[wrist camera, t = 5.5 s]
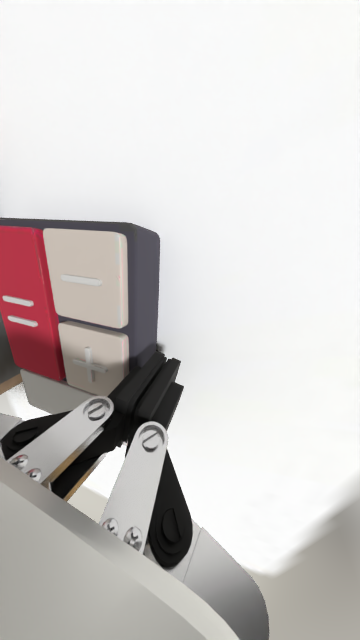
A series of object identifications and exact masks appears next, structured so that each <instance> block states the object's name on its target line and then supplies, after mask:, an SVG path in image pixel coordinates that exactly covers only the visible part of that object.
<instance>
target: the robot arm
mask: <svg viewBox="0 0 360 640" xmlns="http://www.w3.org/2000/svg"><path fill="white" fill-rule="evenodd" d="M164 356H165V354H163V353H160V352H158V351H156V352H155V353H154V354H153V355H152V356H151V358H150V359H149V360H148V361H147V362H146V363H145V365H144V366H143V367H142V368H141V367H139V366H135V367H134V368H133V369H132V370H131V372H130V373H129V374H128V375H127V376H126V377H125V378H124V379H123V380H122V381H121V382H120V383H119V384H118V386H117V387H116V388H115V389H114V390H113V391H112V392H111V393H110V394H109V395H108V396H107V397H106V396H95V397H92V398H90V399H88V400H86V401H85V402H84V403H82V404H81V405H80V406H78V407H77V408H76V409H74V410H71V411H67V412H62V413H58V414H53V415H49V416H44V417H40V418H35V419H31V420H27V421H22V418H19V417H14V416H10V415H6V414H2V413H0V640H269V617H268V612H267V608H266V604H265V600H264V598H263V596H262V593H261V591H260V589H259V587H258V585H257V584H256V583H255V581H254V580H253V579H252V577H251V576H250V575H249V574H248V573H247V572H246V571H245V570H244V569H243V568H242V567H241V566H240V565H239V564H238V563H237V562H236V561H235V560H234V559H233V558H232V557H231V556H230V555H229V554H228V553H227V551H226V550H225V549H224V548H223V547H222V546H221V545H220V544H219V543H218V542H217V541H216V540H215V539H214V538H213V537H212V536H211V535H210V534H209V533H208V532H207V531H206V530H205V529H204V528H203V527H202V528H200V527H199V526H198V525H197V524H196V523H195V522H194V521H193V520H192V519H191V515H190V512H189V509H188V507H187V504H186V501H185V498H184V495H183V493H182V490H181V487H180V484H179V481H178V479H177V476H176V473H175V470H174V467H173V464H172V462H171V459H170V456H169V453H168V450H167V445H168V434H167V429H168V427H169V424H170V422H171V419H172V417H173V415H174V412H175V410H176V407H177V405H178V402H179V400H180V397H181V394H182V391H183V388H184V386H182V385H179V384H177V383H175V379H176V376H177V373H178V369H179V366H180V363H181V361H179V360H177V359H175V358H172V359H168V360H167V362H166V359H167V358H166V357H164ZM123 442H125V443H127V442H128V443H127V448H126V454H125V461H124V463H123V465H122V468H121V470H120V473H119V475H118V478H117V480H116V483H115V485H114V487H113V490H112V492H111V495H110V497H109V500H108V502H107V505H106V507H105V509H104V512H103V514H102V517H101V520H100V522H99V524H98V523H96V522H95V521H94V520H92V519H91V518H89V517H88V516H86V515H85V514H83V513H82V512H80V511H79V510H77V509H76V508H74V507H73V506H71V505H70V504H69V503H67V501H68V500H69V499H70V497H71V496H72V495H73V494H74V493H75V492H76V490H77V489H78V488H79V487H80V486H81V485H82V483H83V482H84V481H85V480H86V479H87V477H88V476H89V475H90V474H91V473H92V472H93V470H94V469H95V468H96V467H97V466H98V464H99V463H100V462H101V461H102V460H103V459H104V457H105V456H106V454H107V453H108V452H110V451H113V450H114V449H115V447H116V446H118V447H119V448H120V447H121V445H122V444H123Z"/></svg>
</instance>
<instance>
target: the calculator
mask: <svg viewBox="0 0 360 640" xmlns="http://www.w3.org/2000/svg"><path fill="white" fill-rule="evenodd" d="M159 260H160V238H159V236H158V234H157V233H156V232H153V231H151V230H148V229H145V228H143V227H140V226H138V225H135V224H132V223H126V222H99V221H72V220H46V219H19V218H0V312H1V315H2V319H3V322H4V326H5V330H6V333H7V337H8V341H9V344H10V348H11V351H12V355H13V359H14V362H15V364H16V365H17V366H18V367H21V368H22V369H21V370H20V372H21V376H22V380H23V384H24V388H25V391H26V395H27V399H28V402H29V404H30V405H32V406H34V407H37V408H39V409H41V410H44V411H46V412H48V413H51V414H58V413H62V412H67V411H71V410H74V409H76V408H77V407H78V406H80V405H81V404H82V403H84V402H85V401H86V400H88V399H90V398H92V397H95V396H106V397H107V396H108V395H109V394H110V393H111V392H112V391H113V390H114V389H115V388H116V387H117V386H118V384H119V383H120V382H121V381H122V380H123V379H124V378H125V377H126V376H127V375H128V374H129V373H130V372H131V370H132V369H133V368H134V367H135V366H139V367H141V368H142V367H143V366H144V365H145V363H146V362H147V361H148V360H149V359H150V358H151V356H152V355H153V354H154V353H155V352H156V342H157V320H158V298H159ZM127 443H128V442H127ZM127 443H125V442H123V445H127Z"/></svg>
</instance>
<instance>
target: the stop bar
mask: <svg viewBox="0 0 360 640" xmlns="http://www.w3.org/2000/svg"><path fill="white" fill-rule="evenodd" d="M21 369H22V368H21V367H18V366H17V365H16V364H15V362H14V359H13V355H12V351H11V348H10V344H9V341H8V337H7V333H6V330H5V326H4V322H3V319H2V315H1V312H0V395H1V394H2V393H4V392H6V391H7V390H9V389H11V388H13V387H14V386H16V385H18V384H19V383H21V382H23V380H22V376H21V372H20V370H21Z"/></svg>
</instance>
